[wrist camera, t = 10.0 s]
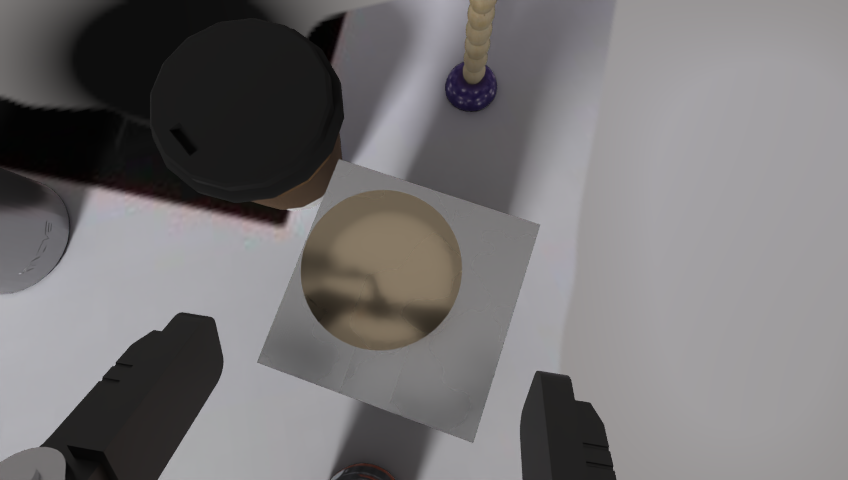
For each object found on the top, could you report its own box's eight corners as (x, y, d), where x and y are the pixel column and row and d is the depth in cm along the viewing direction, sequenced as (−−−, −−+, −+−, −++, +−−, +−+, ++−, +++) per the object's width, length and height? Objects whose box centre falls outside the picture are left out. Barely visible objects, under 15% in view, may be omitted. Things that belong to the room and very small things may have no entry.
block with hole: (339, 347, 34) (257, 362, 18) (381, 234, 35) (339, 158, 20) (454, 389, 33) (473, 442, 17) (492, 272, 35) (540, 224, 19)
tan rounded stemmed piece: (345, 338, 28) (205, 351, 11) (382, 240, 30) (307, 111, 12) (446, 374, 28) (466, 449, 10) (479, 273, 29) (547, 187, 12)
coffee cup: (288, 268, 35) (215, 237, 23) (207, 166, 37) (100, 89, 25) (397, 179, 36) (380, 106, 24) (313, 84, 38) (259, -26, 26)
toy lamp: (433, 71, 38) (433, -124, 22) (484, 50, 38) (521, -159, 22) (458, 120, 37) (478, -46, 21) (509, 97, 37) (568, -84, 21)
